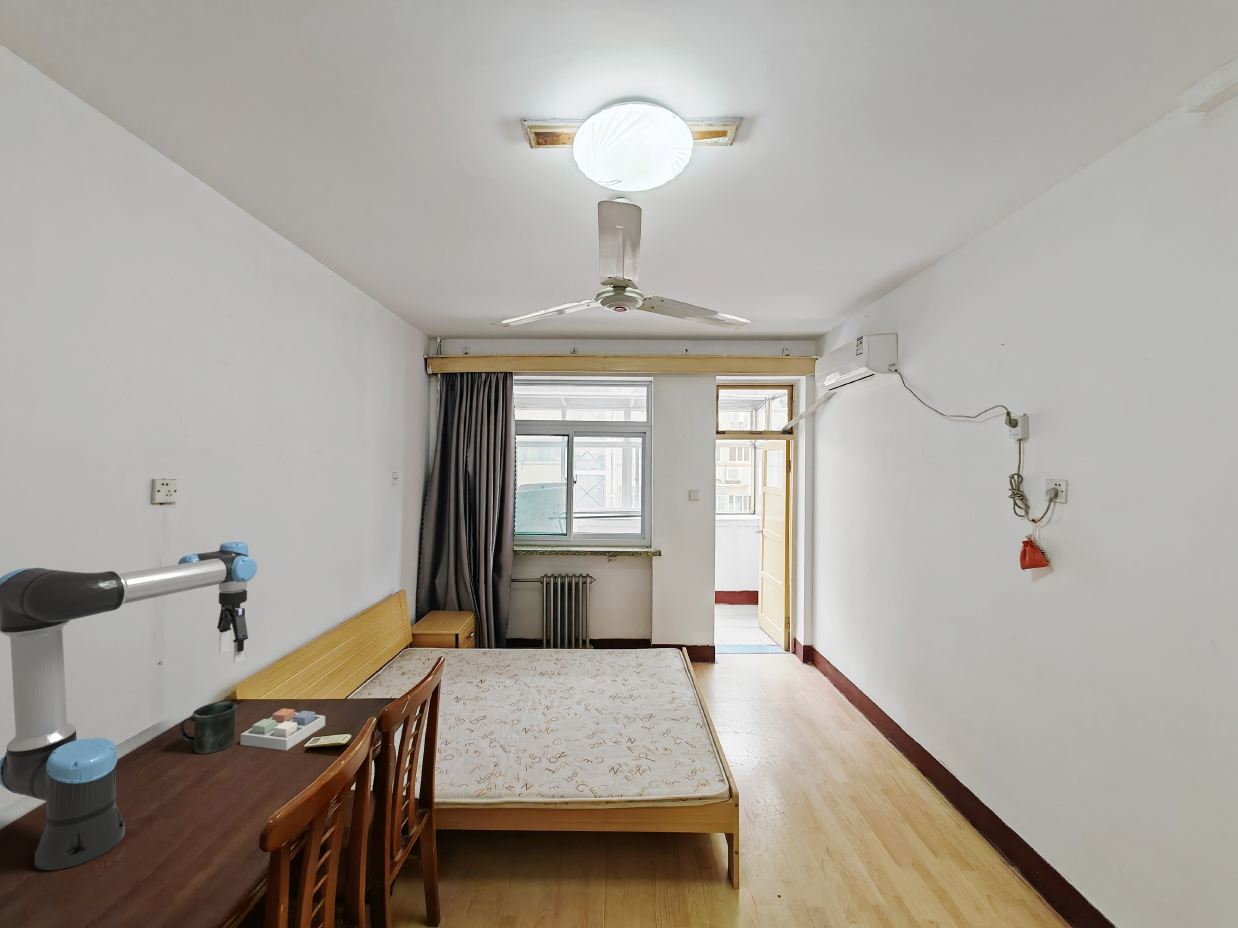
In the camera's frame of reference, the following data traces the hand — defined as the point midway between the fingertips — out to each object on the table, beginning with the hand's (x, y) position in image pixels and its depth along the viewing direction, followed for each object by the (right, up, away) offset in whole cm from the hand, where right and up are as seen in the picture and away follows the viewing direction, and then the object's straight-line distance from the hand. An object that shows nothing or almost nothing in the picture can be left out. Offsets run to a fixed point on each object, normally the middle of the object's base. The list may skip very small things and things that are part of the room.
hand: (231, 656), depth 178 cm
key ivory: (+17, -26, +1) cm, 31 cm away
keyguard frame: (+14, -28, +6) cm, 32 cm away
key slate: (+18, -26, +9) cm, 33 cm away
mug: (-5, -28, -3) cm, 29 cm away
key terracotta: (+10, -26, +10) cm, 30 cm away
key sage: (+9, -26, +2) cm, 27 cm away
